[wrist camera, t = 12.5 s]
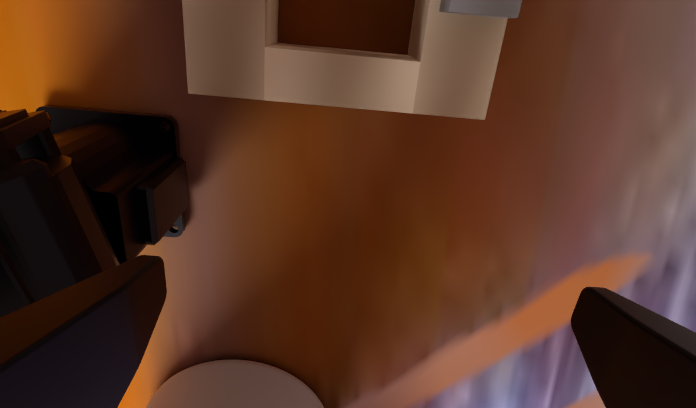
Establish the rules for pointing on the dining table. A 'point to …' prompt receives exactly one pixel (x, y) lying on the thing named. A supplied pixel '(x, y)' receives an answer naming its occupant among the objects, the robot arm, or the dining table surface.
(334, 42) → the dining table surface
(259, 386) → the cylinder vase
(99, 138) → the robot arm
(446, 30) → the socket board
